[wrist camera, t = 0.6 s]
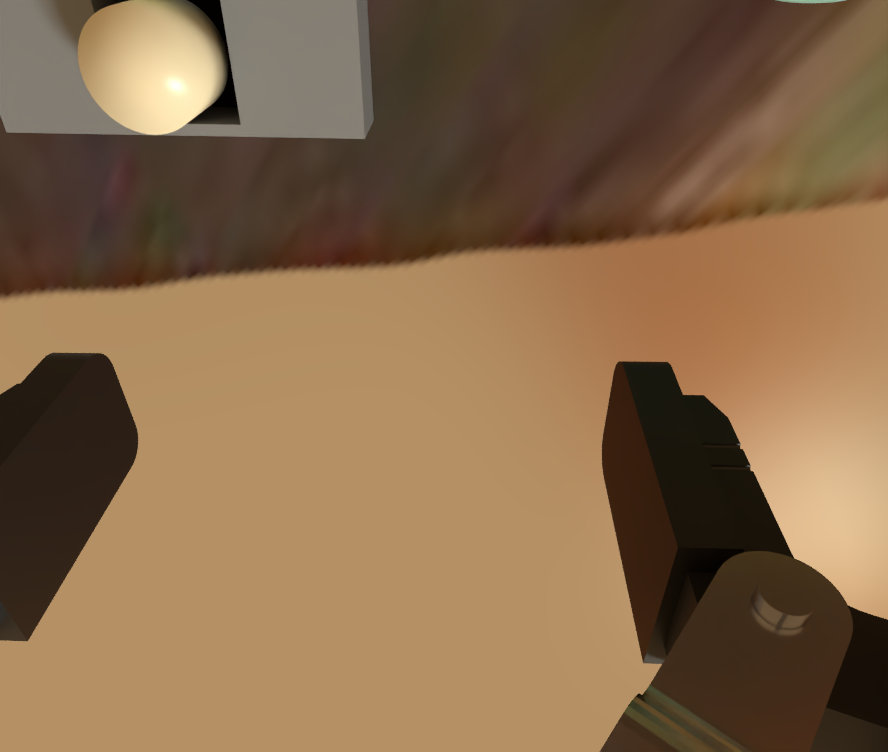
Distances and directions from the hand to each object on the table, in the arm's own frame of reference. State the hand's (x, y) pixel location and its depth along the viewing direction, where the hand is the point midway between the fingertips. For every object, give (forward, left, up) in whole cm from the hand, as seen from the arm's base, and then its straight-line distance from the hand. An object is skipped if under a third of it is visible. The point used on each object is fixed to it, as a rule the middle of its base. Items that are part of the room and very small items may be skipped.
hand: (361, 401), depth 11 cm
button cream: (-1, -11, -22) cm, 24 cm away
